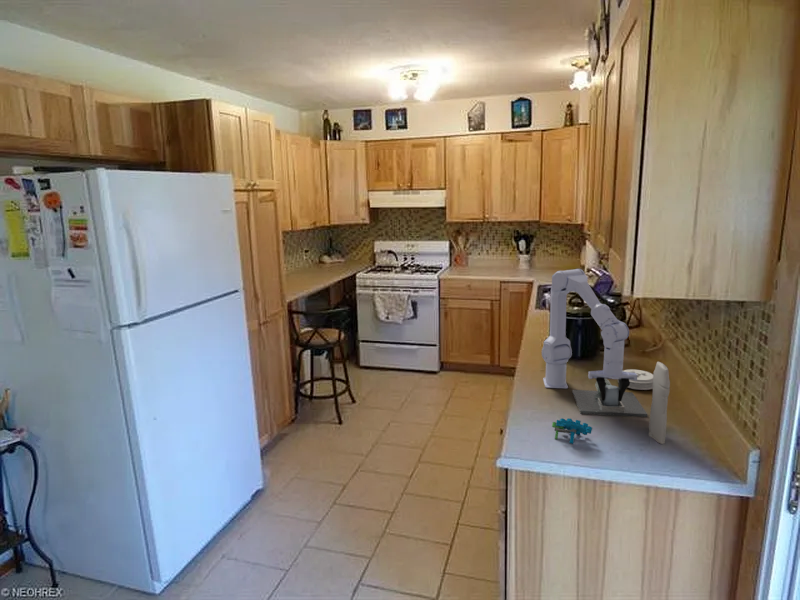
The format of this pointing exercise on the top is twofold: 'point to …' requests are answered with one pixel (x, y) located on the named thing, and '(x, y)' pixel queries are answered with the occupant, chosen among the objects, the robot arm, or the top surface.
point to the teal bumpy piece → (571, 428)
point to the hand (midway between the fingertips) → (610, 399)
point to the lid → (641, 380)
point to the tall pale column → (659, 403)
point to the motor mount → (594, 405)
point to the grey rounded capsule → (611, 395)
